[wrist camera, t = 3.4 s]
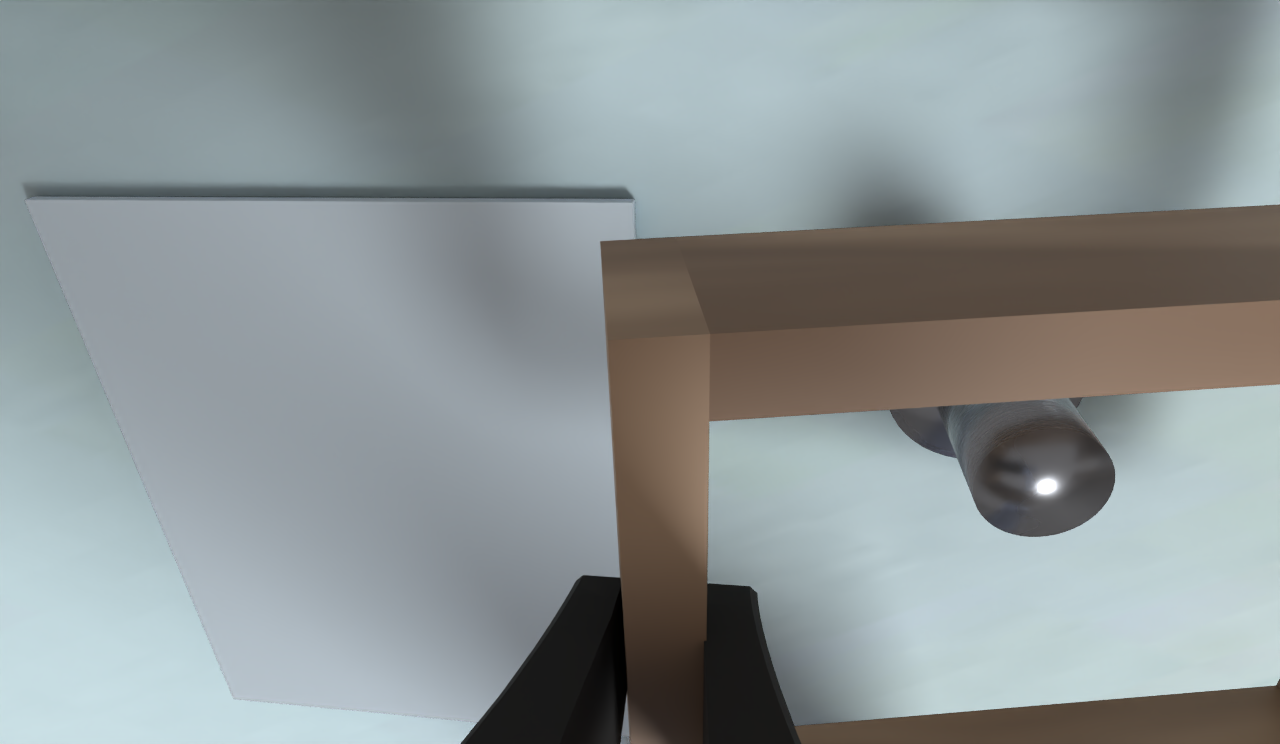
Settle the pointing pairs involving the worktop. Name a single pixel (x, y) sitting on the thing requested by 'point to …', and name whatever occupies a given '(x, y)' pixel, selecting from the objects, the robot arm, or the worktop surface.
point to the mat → (359, 425)
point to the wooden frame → (911, 401)
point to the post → (1020, 460)
